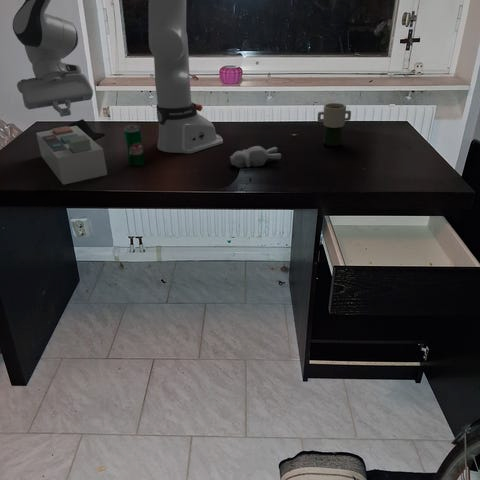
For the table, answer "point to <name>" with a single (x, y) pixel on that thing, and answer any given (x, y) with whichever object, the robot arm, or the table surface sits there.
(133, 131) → the soda can
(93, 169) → the keypad
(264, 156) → the bunny figurine
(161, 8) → the robot arm
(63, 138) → the teal key
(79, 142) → the sage green key
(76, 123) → the handheld gaming console
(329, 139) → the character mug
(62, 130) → the terracotta key
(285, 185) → the table surface
